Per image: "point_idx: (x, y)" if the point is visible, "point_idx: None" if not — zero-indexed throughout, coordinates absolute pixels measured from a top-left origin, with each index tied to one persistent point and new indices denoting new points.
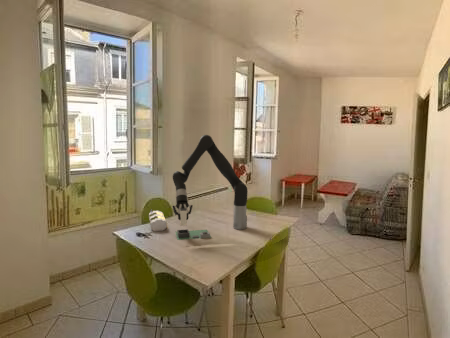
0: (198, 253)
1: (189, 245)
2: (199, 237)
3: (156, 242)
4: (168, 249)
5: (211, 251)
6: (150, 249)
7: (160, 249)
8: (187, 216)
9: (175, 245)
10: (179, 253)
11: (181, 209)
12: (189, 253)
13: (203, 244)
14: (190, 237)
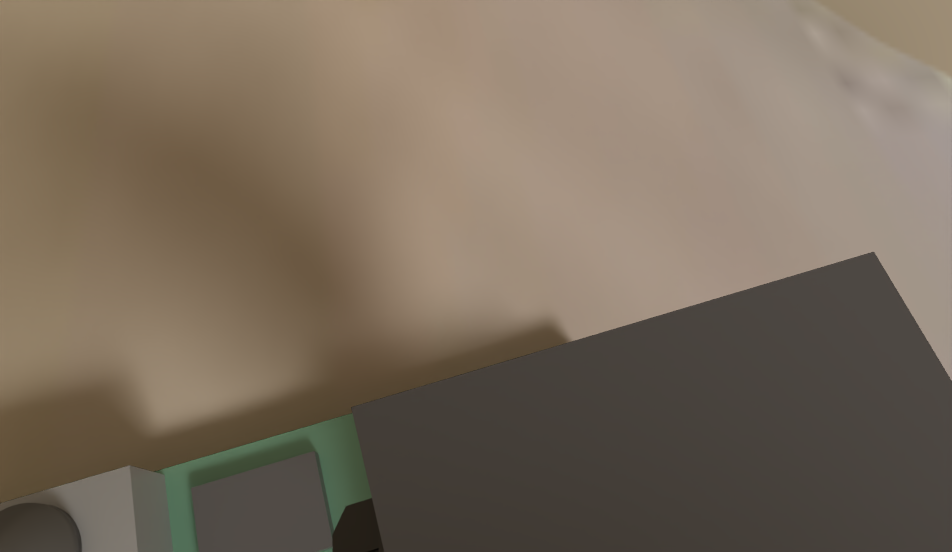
0: (229, 23)
1: (364, 243)
2: (186, 510)
3: (910, 310)
4: (627, 94)
5: (58, 84)
6: (857, 76)
7: (730, 86)
8: (377, 524)
9: (573, 224)
10: (459, 6)
11: (837, 375)
12: (339, 15)
13: (145, 300)
14: (366, 490)
